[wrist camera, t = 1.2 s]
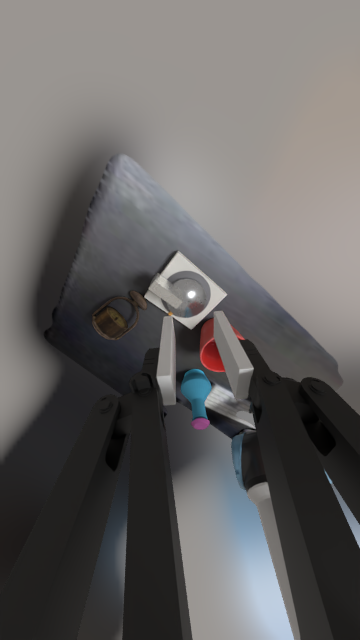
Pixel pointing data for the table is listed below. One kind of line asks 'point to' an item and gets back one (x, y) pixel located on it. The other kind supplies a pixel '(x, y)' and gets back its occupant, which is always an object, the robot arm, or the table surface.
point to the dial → (180, 295)
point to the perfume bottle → (197, 396)
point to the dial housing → (187, 269)
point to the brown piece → (116, 318)
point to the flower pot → (212, 347)
